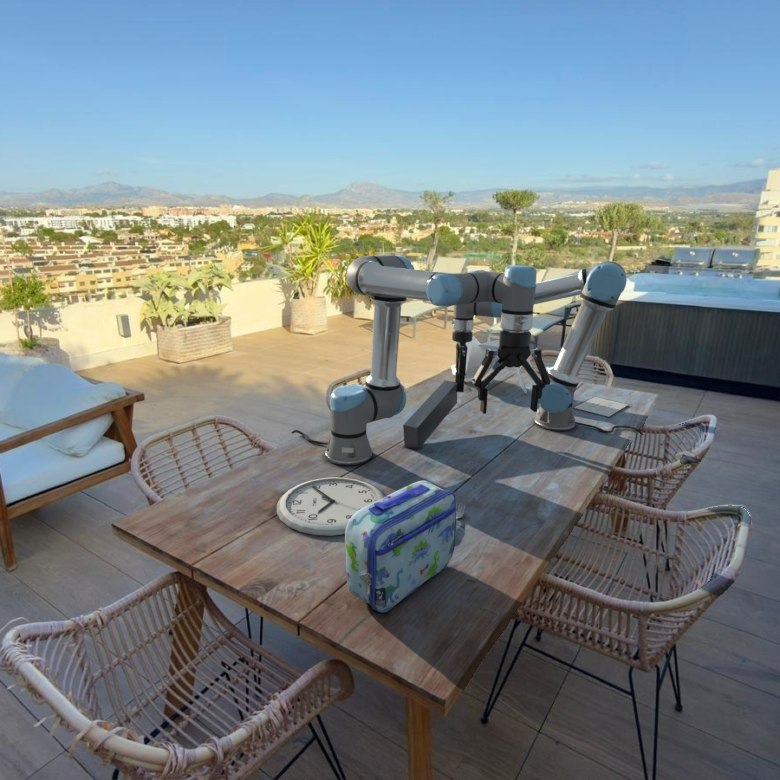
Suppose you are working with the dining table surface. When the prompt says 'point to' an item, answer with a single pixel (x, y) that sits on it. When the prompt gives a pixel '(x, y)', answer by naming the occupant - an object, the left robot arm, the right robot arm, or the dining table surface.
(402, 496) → the lunch box
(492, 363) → the white plastic object
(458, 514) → the fork
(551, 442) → the dining table surface
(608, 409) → the invitation card
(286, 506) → the wall clock
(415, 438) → the bar
